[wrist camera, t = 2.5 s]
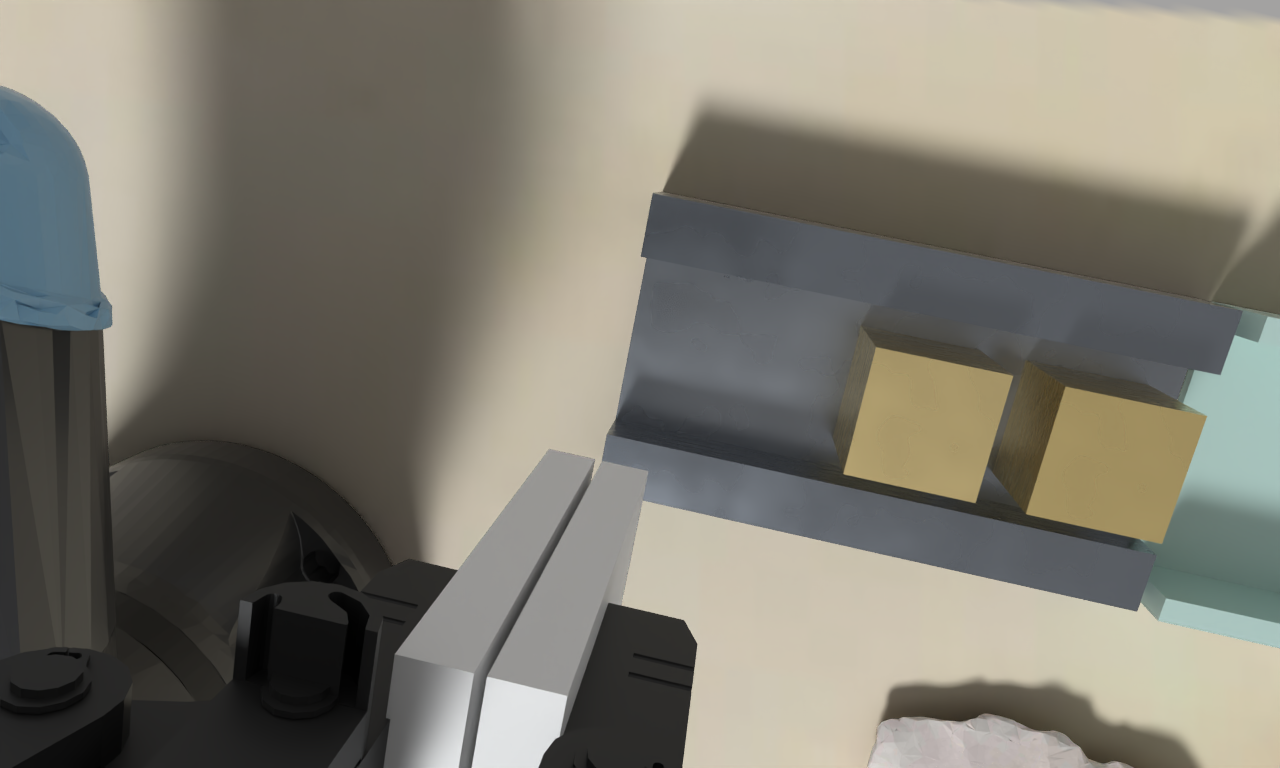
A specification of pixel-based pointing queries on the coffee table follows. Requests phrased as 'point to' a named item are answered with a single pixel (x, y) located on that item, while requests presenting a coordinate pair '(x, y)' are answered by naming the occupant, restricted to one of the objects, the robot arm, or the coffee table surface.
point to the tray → (1228, 498)
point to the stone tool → (974, 745)
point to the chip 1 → (920, 413)
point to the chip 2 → (1096, 451)
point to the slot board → (818, 370)
